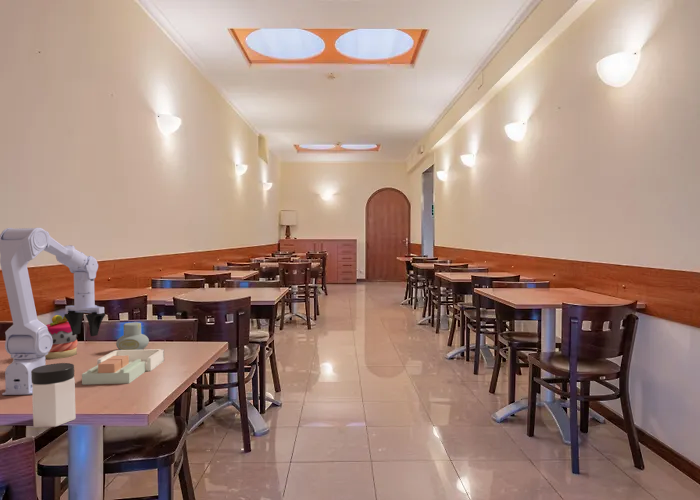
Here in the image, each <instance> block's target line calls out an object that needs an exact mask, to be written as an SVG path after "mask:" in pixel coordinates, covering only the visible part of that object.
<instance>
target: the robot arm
mask: <svg viewBox="0 0 700 500" xmlns="http://www.w3.org/2000/svg"><path fill="white" fill-rule="evenodd" d="M43 251H45V252H47V253H49V254H51V255H53V256H55V258H56V261H57V262H58V263H60V264H62V265H64V266H66V267H67V268H68V269H69V271H70V273H71V274H73V297H74V298H73V299H74V305H65V313H64V314H63V317H64V316H65V318H66V319H67V320H68V321H67V322H69V324H70V327H71V330H72V333H73V335H77V336H78V335H80V334H81V332H82V331H81V328H82V321H83V316H84V314H85V313H86V314H85V317H86V320H87V322H88V327H89V335H90V337H95V336H98V334H99V330H100V327H101V324H102V321H103V320H104V318H105V316H106V313H105V307H104V306H99V305H96V304H95V299H96V296H95V279H96V277H97V272H98V269H99V263H98V260H97V258H95V257H94V256H93V255H87V254H85V253H84V252H83V251H80V250H78V249H76V246H74V245H70V244H69V245H62V243H60V242H58V241H57V240H56V239H54V237H52V236H51V235H50V233H49V231H48V230H45V229H44V228H42V227H34V228H33V227H32V228H30V227H28V228H25V227H24V228H20V227H19V228H17V227H16V228H14V227H8V228H4V230H2V231H1V233H0V269H1V272H2V273H1V274H2V279H3V282H4V287H5V291H6V295H7V296H6V297H7V301H8V305H9V310H10V315H11V319H12V325H11V326H10V327H8V329H7V330H5V332H4V333H5V342H4V349H5V351H6V352H7V354H8V355H9V356H10V358H11V359H12V362H11V363H10V364H8V366H7V367H6V368H5V371H4V376H5V377H4V378H5V380H4V381H5V385H4V387H5V391H4V392H2V396H14V395H15V396H16V395H19V396H20V395H32V380H31V371H32V370H33V369H34V368H37V367H40V366H44V365H47V364H46V358H45V355H47V354H48V352H49V351H50V349H51V347H52V344H53V340H52V336H51V335H50V333H49V332H48V328H47V326H46V325H47V324H44V323H43V322H42V321H40V320H39V319H38V315H37V314H38V313H37V311H36V306H35V299H34V295H33V290H32V285H31V280H30V275H29V270H28V264H29V262H30V261H32V260H34V259H35V258H36V257H37V256H38V255H39V254H40V253H42V252H43Z"/></svg>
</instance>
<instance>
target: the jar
mask: <svg viewBox="0 0 700 500" xmlns="http://www.w3.org/2000/svg"><path fill="white" fill-rule="evenodd" d="M31 380H32V394H31V396H32V424H33V428H35V429H37V428H55V427H59V426H61V425H64V424H66V423H69V422H72V421H75V419H76V385H75V383H76V382H75V381H76V380H75V365H74V364H73V363H72V362H71V363H70V362H61V363H60V362H59V363H56V362H55V363H51V364H46V365H44V366H40V367H37V368H34V369H33V370H32V371H31Z"/></svg>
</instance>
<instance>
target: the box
mask: <svg viewBox="0 0 700 500" xmlns="http://www.w3.org/2000/svg"><path fill="white" fill-rule="evenodd" d="M127 355H129V362H133V361H135V360H136V359H141V362H146V371H145V372H152V371H153V370H154V369H156V368H157V367H158V366H159V365H161V364H162V363H164V362H165V348H155V349H154V348H153V349H150V348H149V349H145V348H144V349H142V350H120V349H116V350H115V349H114V350H113V351H110V352H109V353H107V354H105V355H103V356H101V357H99V358H97V359H96V361H97V365H98V364H99V363H101V362H103V361H105V360H107V359H109V358H110V357H112V356H127ZM97 365H96V366H97Z"/></svg>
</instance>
